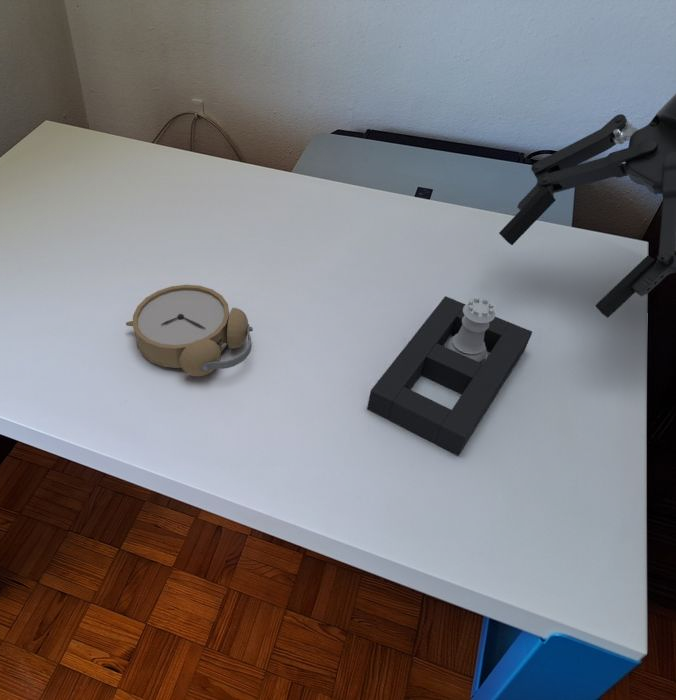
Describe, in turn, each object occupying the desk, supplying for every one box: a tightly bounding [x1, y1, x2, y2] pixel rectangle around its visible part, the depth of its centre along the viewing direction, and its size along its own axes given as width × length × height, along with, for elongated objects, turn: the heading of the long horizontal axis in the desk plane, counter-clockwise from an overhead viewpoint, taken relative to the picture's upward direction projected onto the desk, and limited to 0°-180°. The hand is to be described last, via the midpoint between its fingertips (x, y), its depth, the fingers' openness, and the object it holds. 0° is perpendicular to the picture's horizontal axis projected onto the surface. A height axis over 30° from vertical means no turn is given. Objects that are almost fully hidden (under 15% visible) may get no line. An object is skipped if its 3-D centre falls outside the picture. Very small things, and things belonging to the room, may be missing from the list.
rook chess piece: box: [445, 296, 496, 364], centre depth 74 cm, size 4×4×8 cm
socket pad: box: [366, 295, 533, 456], centre depth 74 cm, size 10×18×3 cm, turn 142°
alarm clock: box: [125, 284, 254, 377], centre depth 79 cm, size 11×5×15 cm
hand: (550, 273), depth 73 cm, fingers open, 13 cm apart
